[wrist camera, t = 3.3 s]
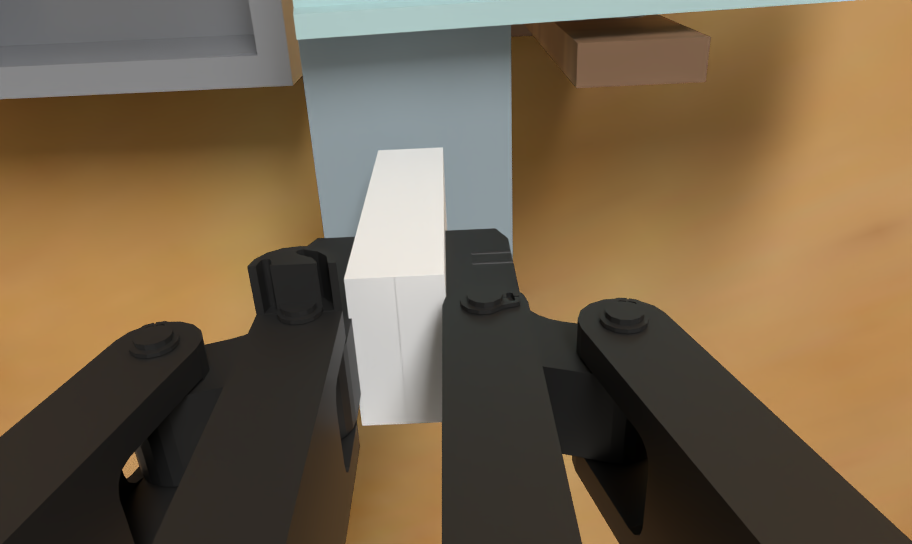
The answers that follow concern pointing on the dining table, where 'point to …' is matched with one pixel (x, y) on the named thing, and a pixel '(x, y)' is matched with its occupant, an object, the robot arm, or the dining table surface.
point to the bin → (144, 46)
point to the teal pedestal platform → (430, 92)
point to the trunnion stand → (622, 50)
